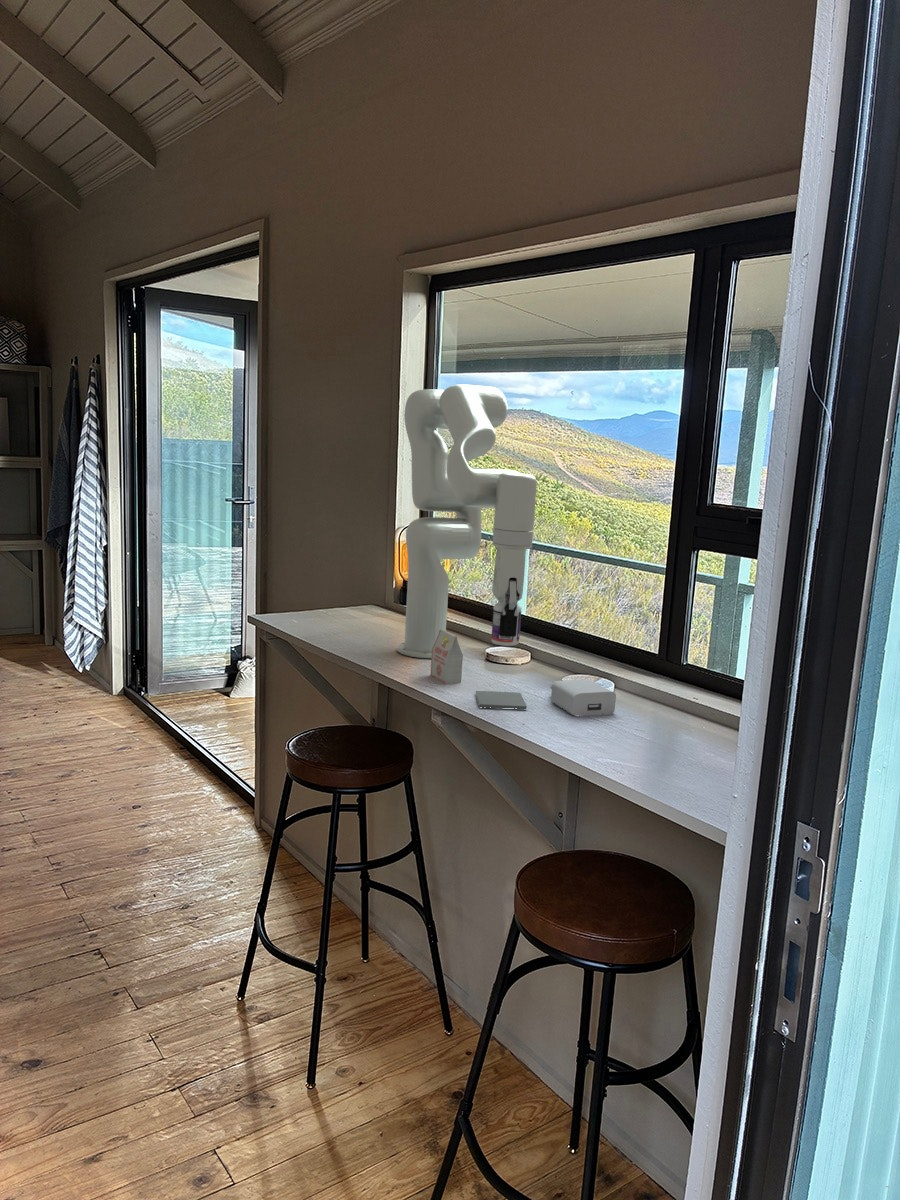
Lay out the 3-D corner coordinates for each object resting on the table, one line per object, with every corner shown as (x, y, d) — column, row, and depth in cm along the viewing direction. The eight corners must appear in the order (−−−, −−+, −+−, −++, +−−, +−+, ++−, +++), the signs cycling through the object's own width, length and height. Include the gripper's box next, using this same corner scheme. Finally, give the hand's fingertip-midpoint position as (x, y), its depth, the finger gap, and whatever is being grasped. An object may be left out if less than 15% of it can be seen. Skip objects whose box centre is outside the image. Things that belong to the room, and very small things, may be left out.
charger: (575, 692, 189) (614, 714, 175) (536, 694, 185) (572, 717, 172) (577, 670, 188) (616, 691, 174) (537, 672, 185) (574, 693, 171)
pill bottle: (504, 638, 180) (508, 589, 178) (524, 644, 176) (528, 594, 174) (485, 641, 176) (488, 592, 174) (505, 647, 172) (509, 596, 170)
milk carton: (445, 674, 196) (448, 629, 194) (461, 682, 190) (464, 636, 188) (430, 675, 194) (433, 629, 192) (445, 684, 188) (448, 637, 186)
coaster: (475, 694, 182) (475, 690, 182) (520, 696, 183) (520, 692, 182) (479, 708, 173) (479, 704, 173) (526, 710, 174) (526, 706, 174)
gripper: (488, 532, 180) (482, 622, 184) (497, 543, 163) (490, 641, 167) (526, 534, 181) (519, 623, 184) (539, 545, 164) (531, 643, 167)
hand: (505, 631), depth 175 cm, fingers closed on pill bottle, 5 cm apart
